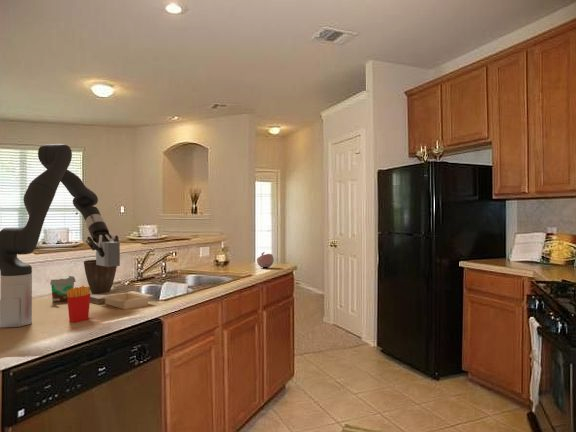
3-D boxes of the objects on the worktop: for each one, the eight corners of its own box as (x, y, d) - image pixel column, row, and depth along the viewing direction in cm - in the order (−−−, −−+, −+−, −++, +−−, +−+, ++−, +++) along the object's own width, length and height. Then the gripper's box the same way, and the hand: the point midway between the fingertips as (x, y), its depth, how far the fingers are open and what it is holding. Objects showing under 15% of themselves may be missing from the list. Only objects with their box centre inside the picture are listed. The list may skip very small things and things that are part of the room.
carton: (118, 312, 171) (118, 300, 171) (98, 306, 182) (98, 296, 182) (153, 306, 182) (153, 295, 182) (133, 301, 193) (133, 291, 193)
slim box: (107, 266, 184) (107, 242, 184) (95, 264, 192) (95, 241, 192) (119, 265, 188) (119, 242, 188) (107, 263, 196) (107, 240, 195)
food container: (62, 303, 188) (62, 280, 188) (50, 303, 189) (50, 279, 189) (81, 298, 200) (81, 276, 200) (69, 297, 201) (69, 275, 201)
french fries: (85, 317, 162) (84, 284, 162) (92, 318, 160) (92, 285, 160) (64, 322, 155) (64, 288, 155) (71, 323, 153) (71, 288, 153)
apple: (266, 266, 322) (266, 251, 322) (277, 268, 312) (277, 252, 312) (253, 268, 314) (253, 252, 314) (263, 269, 305) (263, 253, 305)
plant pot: (84, 292, 215) (84, 259, 215) (117, 290, 220) (117, 258, 220) (82, 297, 201) (82, 262, 201) (117, 295, 206) (117, 261, 206)
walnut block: (98, 306, 182) (98, 298, 182) (85, 302, 190) (85, 295, 190) (125, 301, 191) (125, 294, 191) (111, 298, 199) (111, 291, 199)
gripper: (83, 221, 189) (96, 250, 181) (115, 220, 200) (128, 248, 192) (77, 233, 193) (90, 262, 185) (109, 231, 204) (122, 259, 196)
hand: (109, 255), depth 189 cm, fingers closed on slim box, 5 cm apart
